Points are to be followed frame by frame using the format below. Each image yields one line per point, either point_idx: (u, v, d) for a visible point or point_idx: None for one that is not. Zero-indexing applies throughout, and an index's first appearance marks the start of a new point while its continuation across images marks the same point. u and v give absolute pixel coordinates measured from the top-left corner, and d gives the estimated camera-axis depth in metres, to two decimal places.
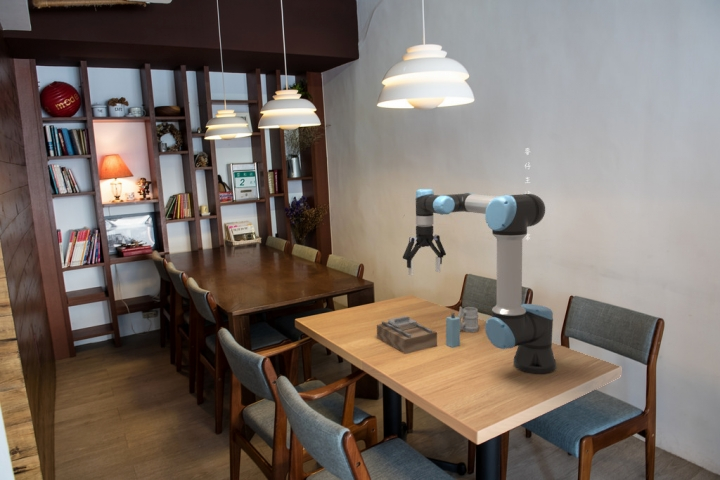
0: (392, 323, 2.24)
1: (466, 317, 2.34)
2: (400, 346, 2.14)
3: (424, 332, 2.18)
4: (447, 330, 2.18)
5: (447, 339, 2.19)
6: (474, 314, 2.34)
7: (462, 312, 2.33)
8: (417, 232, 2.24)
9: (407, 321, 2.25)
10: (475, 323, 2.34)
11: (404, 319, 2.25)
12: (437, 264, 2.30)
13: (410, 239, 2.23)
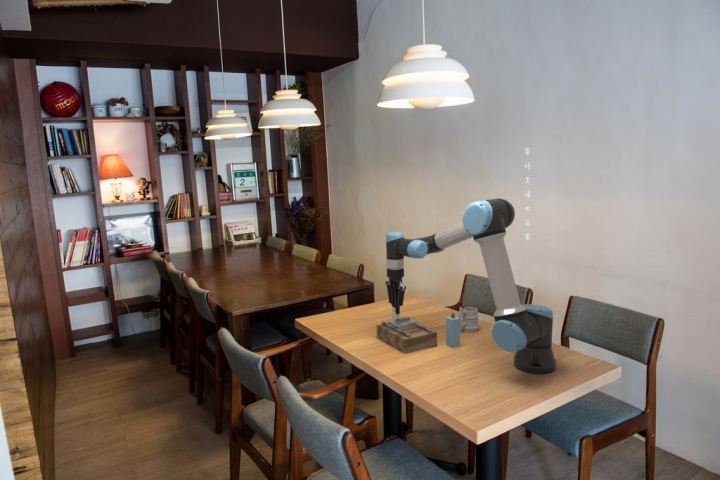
0: (392, 323, 2.24)
1: (466, 317, 2.34)
2: (400, 346, 2.14)
3: (424, 332, 2.18)
4: (447, 329, 2.18)
5: (447, 339, 2.19)
6: (474, 314, 2.34)
7: (462, 312, 2.33)
8: None
9: (407, 321, 2.24)
10: (475, 323, 2.34)
11: (405, 319, 2.25)
12: None
13: None
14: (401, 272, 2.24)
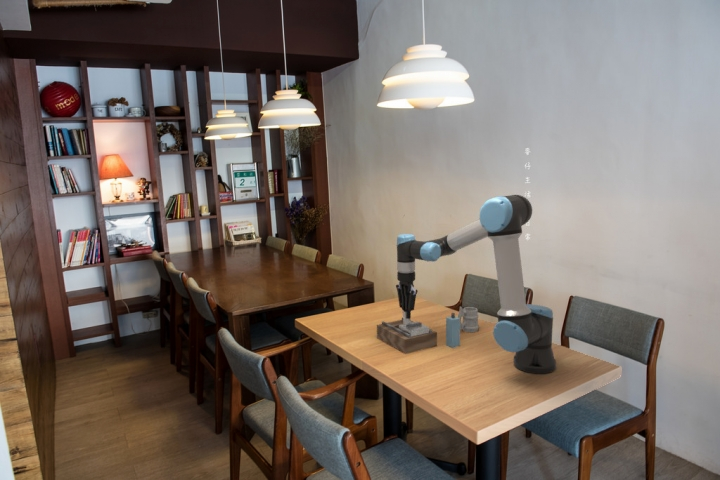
0: (403, 329, 2.17)
1: (466, 317, 2.34)
2: (400, 346, 2.14)
3: None
4: (447, 329, 2.18)
5: (447, 339, 2.19)
6: (474, 314, 2.34)
7: (462, 312, 2.33)
8: None
9: (418, 326, 2.17)
10: (475, 323, 2.34)
11: (416, 324, 2.18)
12: None
13: None
14: (412, 275, 2.17)
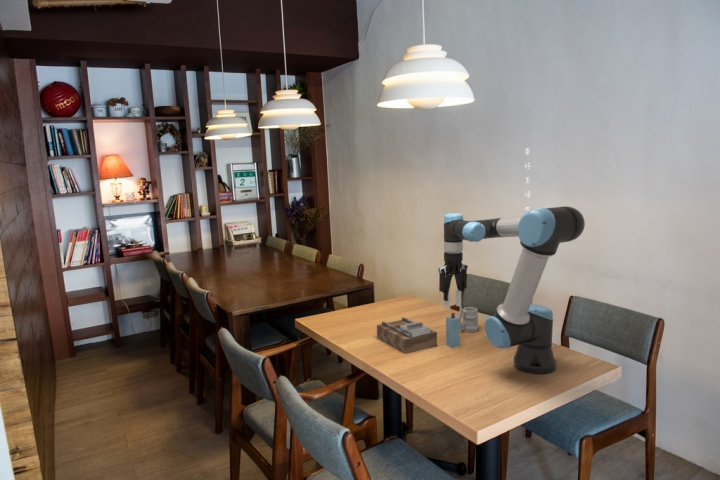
0: (404, 329, 2.16)
1: (466, 317, 2.34)
2: (400, 346, 2.14)
3: None
4: (447, 329, 2.18)
5: (447, 339, 2.19)
6: (474, 314, 2.34)
7: (462, 312, 2.33)
8: (446, 259, 2.11)
9: (419, 327, 2.16)
10: (475, 323, 2.34)
11: (417, 325, 2.17)
12: (458, 298, 2.17)
13: (440, 271, 2.11)
14: None
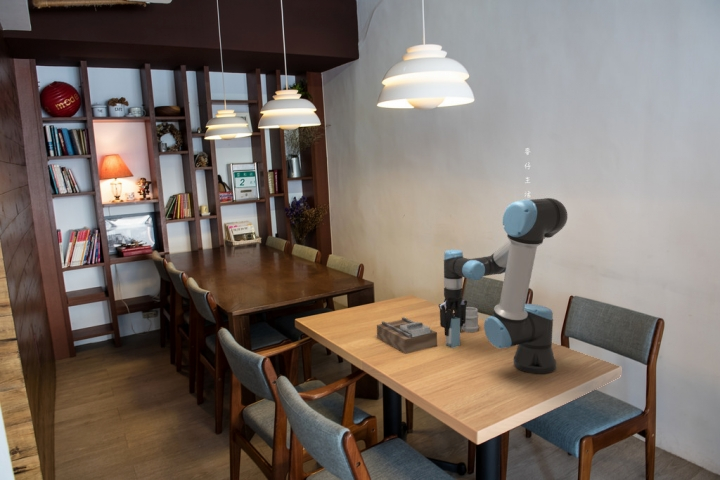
0: (404, 329, 2.16)
1: (466, 317, 2.34)
2: (400, 346, 2.14)
3: None
4: None
5: None
6: (474, 314, 2.34)
7: None
8: (446, 295, 2.13)
9: (419, 327, 2.16)
10: (475, 323, 2.34)
11: (417, 325, 2.17)
12: None
13: (440, 307, 2.13)
14: None
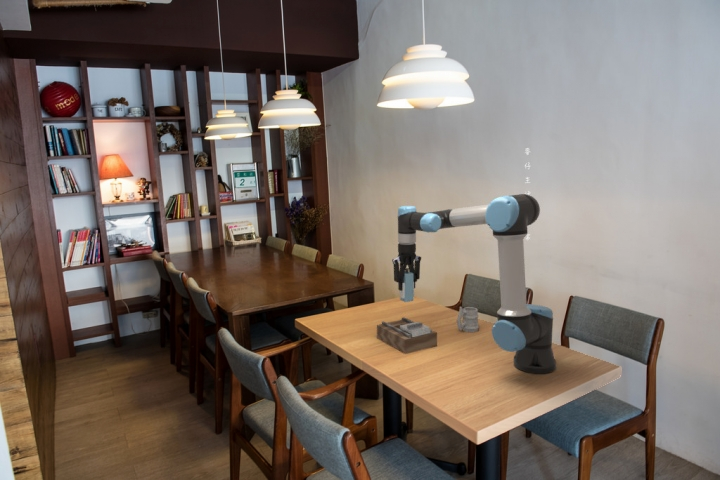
0: (404, 329, 2.16)
1: (466, 317, 2.34)
2: (400, 346, 2.14)
3: None
4: None
5: None
6: (474, 314, 2.34)
7: (462, 312, 2.33)
8: (400, 250, 2.18)
9: (419, 327, 2.16)
10: (475, 323, 2.34)
11: (417, 325, 2.17)
12: None
13: (393, 262, 2.18)
14: None
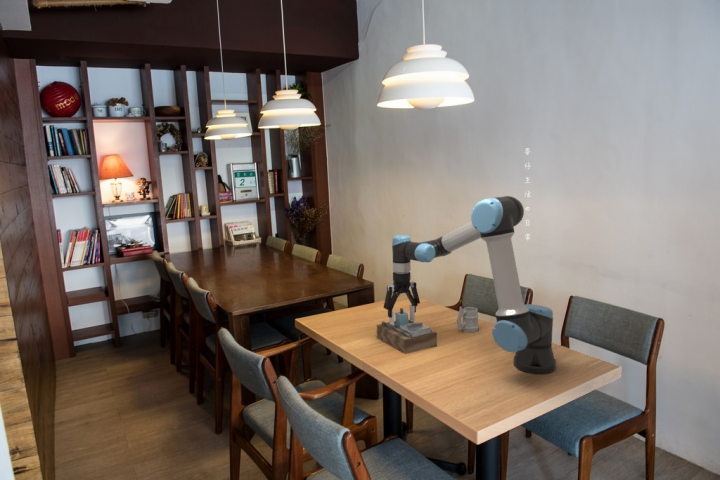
0: (404, 329, 2.16)
1: (466, 317, 2.34)
2: (400, 346, 2.14)
3: None
4: (397, 324, 2.26)
5: None
6: (474, 314, 2.34)
7: (462, 312, 2.33)
8: (394, 279, 2.21)
9: (419, 327, 2.16)
10: (475, 323, 2.34)
11: (417, 325, 2.17)
12: (411, 312, 2.27)
13: (388, 288, 2.20)
14: None
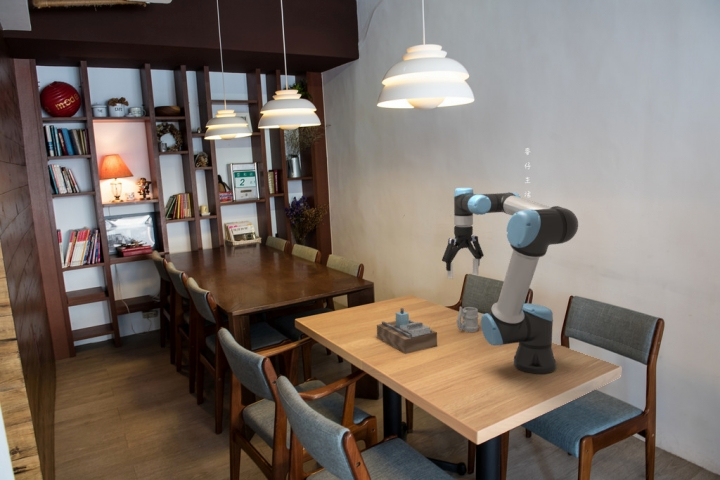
0: (404, 329, 2.16)
1: (466, 317, 2.34)
2: (400, 346, 2.14)
3: None
4: (397, 324, 2.26)
5: None
6: (474, 314, 2.34)
7: (462, 312, 2.33)
8: (456, 233, 2.13)
9: (419, 327, 2.16)
10: (475, 323, 2.34)
11: (417, 325, 2.17)
12: (475, 266, 2.21)
13: (450, 240, 2.13)
14: None
